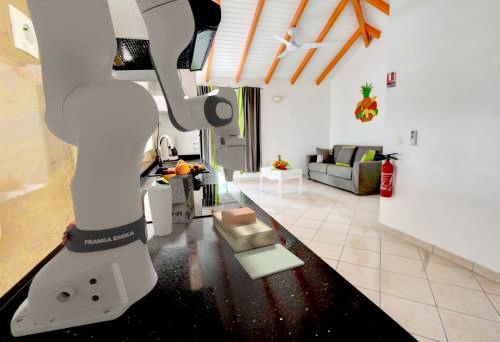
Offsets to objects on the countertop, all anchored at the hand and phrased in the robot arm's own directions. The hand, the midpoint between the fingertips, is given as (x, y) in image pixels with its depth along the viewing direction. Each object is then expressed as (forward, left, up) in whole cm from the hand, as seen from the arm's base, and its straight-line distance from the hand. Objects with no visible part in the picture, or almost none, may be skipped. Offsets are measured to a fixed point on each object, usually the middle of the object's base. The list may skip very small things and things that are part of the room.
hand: (229, 181), depth 79 cm
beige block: (0, -9, -15) cm, 17 cm away
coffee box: (-14, +13, -15) cm, 24 cm away
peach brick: (0, -8, -10) cm, 13 cm away
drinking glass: (-22, +2, -15) cm, 27 cm away
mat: (0, -27, -15) cm, 31 cm away
